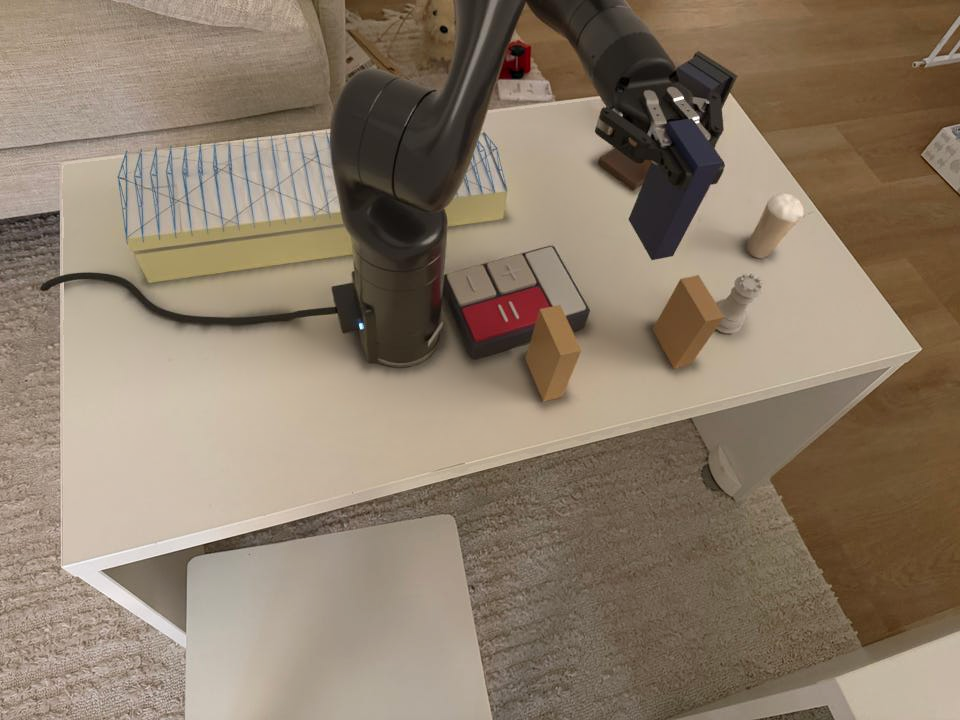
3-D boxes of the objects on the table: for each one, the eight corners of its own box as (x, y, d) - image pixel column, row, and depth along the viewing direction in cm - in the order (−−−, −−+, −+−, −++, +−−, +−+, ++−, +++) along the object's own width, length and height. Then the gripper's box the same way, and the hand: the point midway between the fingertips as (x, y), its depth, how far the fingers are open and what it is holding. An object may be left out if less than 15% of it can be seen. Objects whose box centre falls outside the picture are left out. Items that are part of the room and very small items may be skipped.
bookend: (633, 191, 95) (658, 127, 86) (597, 164, 98) (617, 98, 88) (707, 139, 103) (737, 75, 93) (672, 115, 105) (698, 50, 96)
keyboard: (148, 286, 79) (116, 226, 70) (146, 196, 86) (117, 131, 77) (509, 235, 88) (520, 176, 80) (479, 158, 96) (487, 97, 87)
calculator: (440, 271, 79) (554, 239, 83) (440, 292, 83) (549, 261, 86) (473, 344, 74) (592, 308, 78) (471, 363, 78) (586, 328, 81)
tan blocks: (543, 402, 76) (560, 355, 67) (525, 358, 78) (539, 308, 70) (691, 364, 80) (724, 316, 72) (669, 325, 83) (698, 274, 75)
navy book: (651, 260, 70) (697, 166, 59) (628, 219, 73) (668, 121, 62) (673, 256, 70) (723, 161, 59) (649, 215, 73) (692, 117, 62)
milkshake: (765, 271, 89) (802, 219, 81) (734, 246, 91) (768, 193, 83) (784, 256, 91) (823, 204, 83) (754, 232, 93) (789, 178, 85)
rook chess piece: (745, 317, 85) (775, 277, 78) (734, 341, 83) (764, 303, 76) (713, 301, 86) (739, 261, 79) (701, 324, 84) (727, 285, 77)
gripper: (571, 37, 64) (647, 159, 56) (696, 23, 67) (785, 137, 59) (556, 103, 71) (622, 221, 62) (671, 87, 74) (748, 198, 66)
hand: (701, 179), depth 61 cm, fingers closed on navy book, 2 cm apart
